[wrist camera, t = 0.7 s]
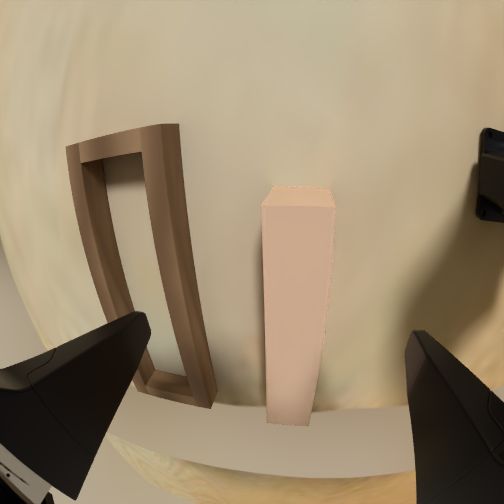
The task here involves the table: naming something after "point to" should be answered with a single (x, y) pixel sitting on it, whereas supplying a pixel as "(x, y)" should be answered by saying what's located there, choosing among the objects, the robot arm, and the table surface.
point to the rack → (166, 244)
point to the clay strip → (295, 296)
